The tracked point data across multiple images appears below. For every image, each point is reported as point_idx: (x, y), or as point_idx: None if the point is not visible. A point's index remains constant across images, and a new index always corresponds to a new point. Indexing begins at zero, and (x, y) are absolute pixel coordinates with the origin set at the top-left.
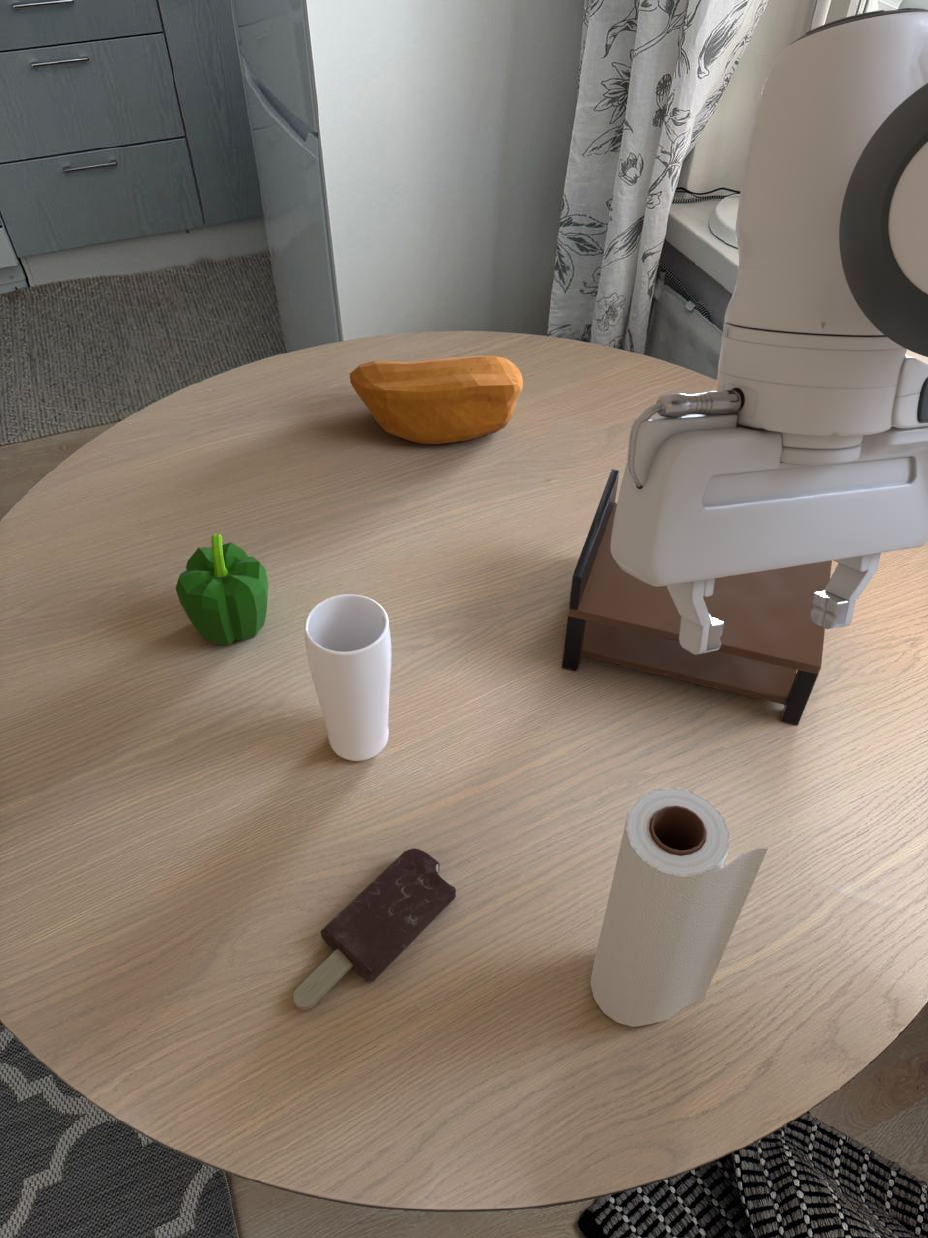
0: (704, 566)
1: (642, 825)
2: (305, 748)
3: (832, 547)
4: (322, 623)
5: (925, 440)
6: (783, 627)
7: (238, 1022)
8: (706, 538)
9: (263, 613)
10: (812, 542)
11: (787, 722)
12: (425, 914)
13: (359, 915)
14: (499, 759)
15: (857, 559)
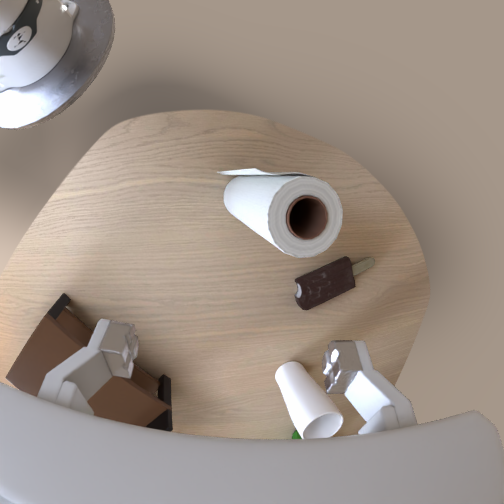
0: (439, 438)
1: (326, 234)
2: (311, 373)
3: (157, 454)
4: (320, 429)
5: None
6: (52, 350)
7: (387, 264)
8: (449, 475)
9: (299, 436)
10: (211, 476)
11: (68, 297)
12: (317, 275)
13: (340, 287)
14: (232, 341)
15: (75, 403)
